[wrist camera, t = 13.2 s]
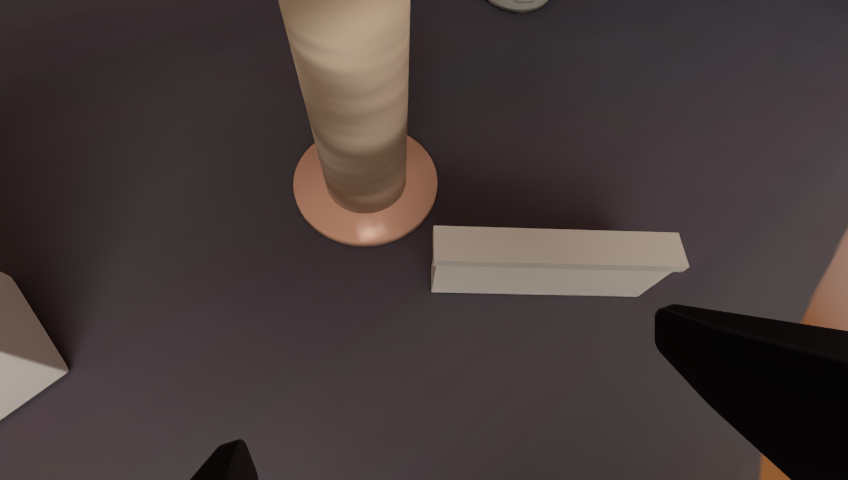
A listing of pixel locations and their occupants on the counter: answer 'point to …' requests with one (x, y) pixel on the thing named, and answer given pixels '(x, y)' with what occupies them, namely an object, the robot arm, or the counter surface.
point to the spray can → (519, 5)
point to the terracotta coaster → (366, 225)
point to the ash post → (355, 93)
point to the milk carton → (23, 350)
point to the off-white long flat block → (552, 261)
